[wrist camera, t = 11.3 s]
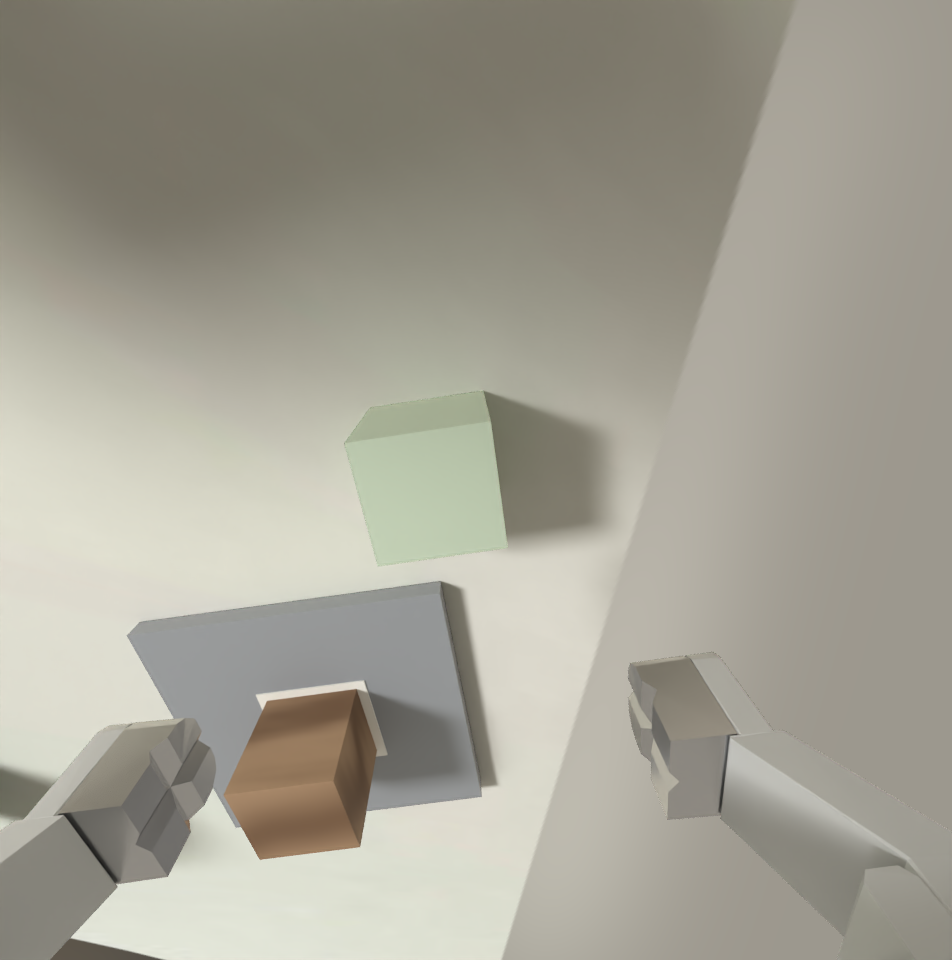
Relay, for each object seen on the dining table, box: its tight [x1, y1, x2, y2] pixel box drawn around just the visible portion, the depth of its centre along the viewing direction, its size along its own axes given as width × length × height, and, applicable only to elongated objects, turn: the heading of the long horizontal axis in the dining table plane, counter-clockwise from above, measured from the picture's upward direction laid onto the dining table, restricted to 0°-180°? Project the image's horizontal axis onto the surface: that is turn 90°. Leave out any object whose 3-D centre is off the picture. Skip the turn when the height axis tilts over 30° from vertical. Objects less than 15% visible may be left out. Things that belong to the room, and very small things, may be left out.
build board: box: [127, 582, 482, 828], centre depth 26 cm, size 16×16×1 cm
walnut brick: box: [224, 689, 377, 860], centre depth 23 cm, size 5×5×5 cm
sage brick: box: [344, 391, 508, 566], centre depth 18 cm, size 5×5×5 cm
